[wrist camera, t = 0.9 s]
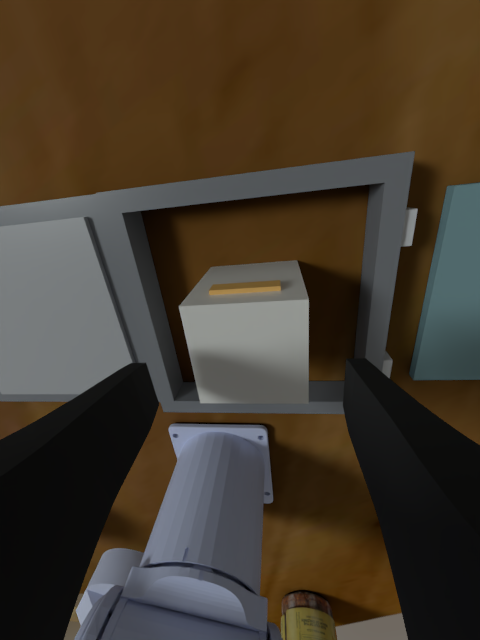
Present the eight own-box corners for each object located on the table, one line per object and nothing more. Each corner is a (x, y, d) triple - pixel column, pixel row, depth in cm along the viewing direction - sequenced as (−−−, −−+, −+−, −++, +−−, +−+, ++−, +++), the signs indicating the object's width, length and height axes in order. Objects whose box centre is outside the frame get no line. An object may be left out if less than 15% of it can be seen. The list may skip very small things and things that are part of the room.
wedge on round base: (149, 598, 39) (177, 565, 33) (126, 672, 33) (156, 647, 27) (91, 577, 38) (109, 539, 33) (57, 649, 32) (72, 619, 27)
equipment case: (375, 392, 18) (386, 414, 16) (11, 392, 23) (-11, 410, 21) (408, 154, 12) (431, 149, 10) (-94, 219, 17) (-138, 223, 15)
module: (298, 337, 17) (308, 403, 12) (222, 339, 18) (200, 403, 13) (297, 256, 15) (308, 294, 10) (210, 263, 16) (177, 301, 10)
